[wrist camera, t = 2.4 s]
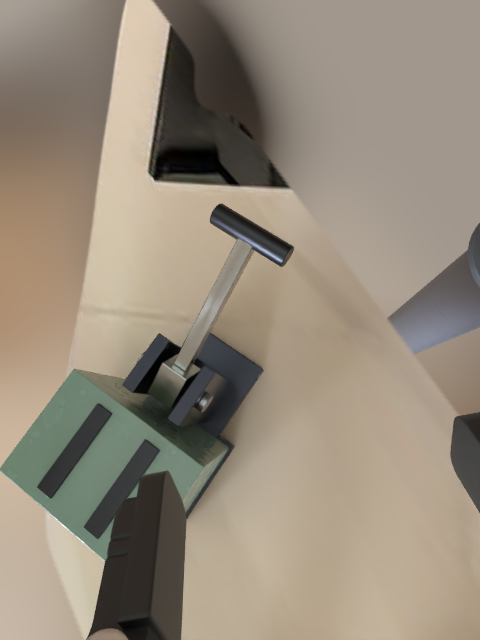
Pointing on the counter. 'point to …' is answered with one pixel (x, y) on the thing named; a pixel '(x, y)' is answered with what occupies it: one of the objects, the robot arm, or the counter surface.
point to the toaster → (107, 454)
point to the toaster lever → (216, 300)
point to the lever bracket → (200, 382)
